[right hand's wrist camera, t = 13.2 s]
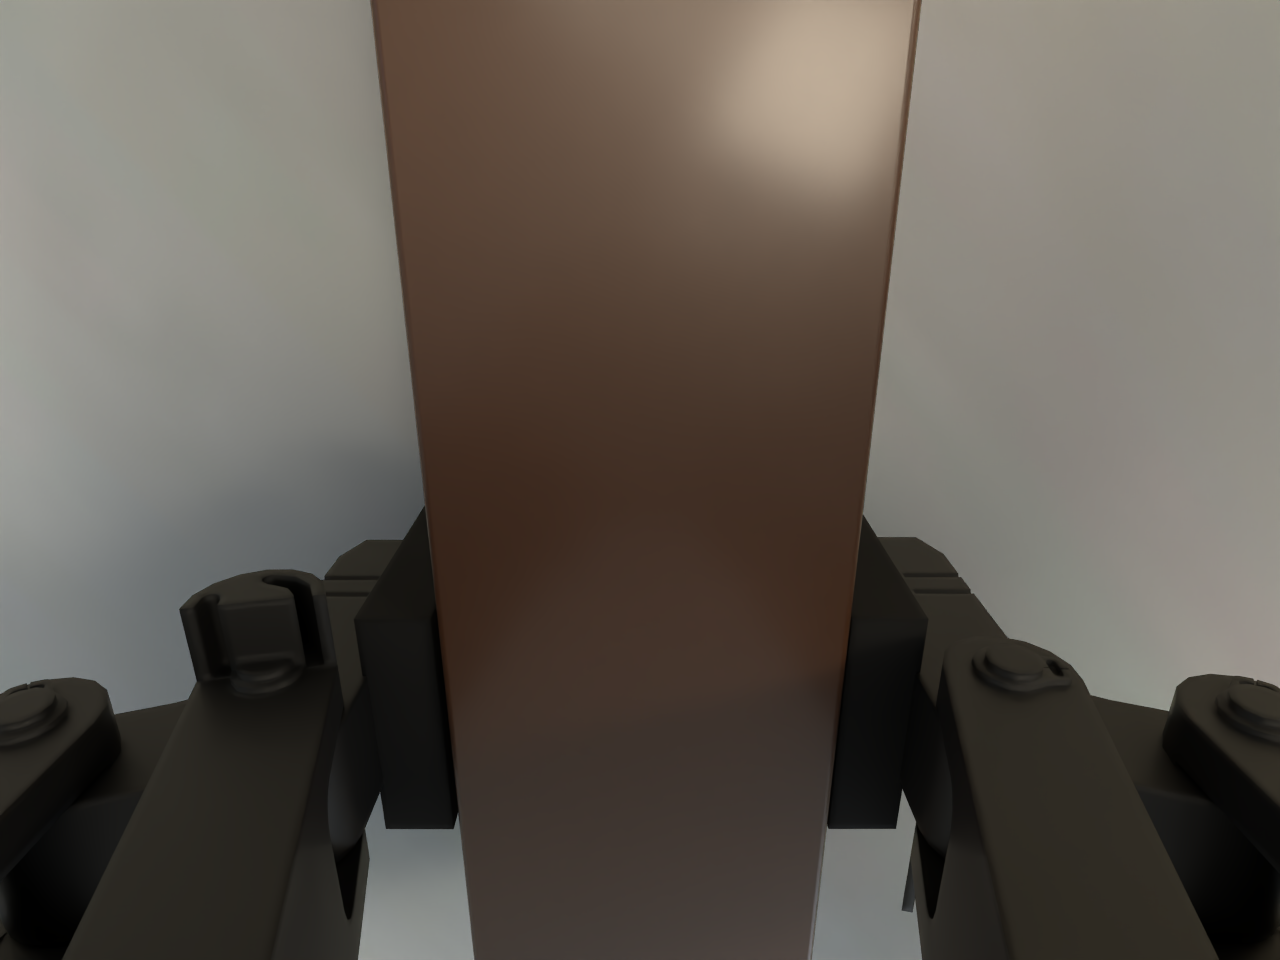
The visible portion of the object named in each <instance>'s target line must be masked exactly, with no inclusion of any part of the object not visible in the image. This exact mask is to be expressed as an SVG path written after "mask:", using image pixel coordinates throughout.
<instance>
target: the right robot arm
mask: <svg viewBox="0 0 1280 960" xmlns="http://www.w3.org/2000/svg"><path fill="white" fill-rule="evenodd" d="M179 610H180V614H181V618H182V623H183V627H184V631H185V635H186V639H187V643H188V647H189V651H190V655H191V659H192V663H193V667H194V671H195V675H196V679H197V682H196V684H195V687H194V689H193V691H192V693H191V695H190V697H189V699H188V700H185V701H181V702H177V703H173V704H167V705H162V706H157V707H152V708H146V709H141V710H136V711H131V712H125V713H120V714H115V715H114V712H113V709H112V705H111V702H110V699H109V695H108V692H107V690H106V689H105V688H104V687H102V686H101V685H100V684H99V683H97V682H96V681H93V680H87V679H81V678H74V677H72V678H61V679H51V680H49V679H46V680H40V681H35V682H31V683H30V684H28V685H27V683H26V684H23V685H19V686H16V687H13V688H10V689H8V690H7V691H5V692H4V693H2V694H0V960H358V954H359V945H360V937H361V928H362V920H363V911H364V903H365V894H366V885H367V877H368V868H369V860H370V858H369V851H368V845H367V839H366V833H365V827H366V824H367V822H368V820H369V817H370V815H371V812H372V810H373V807H374V805H375V803H376V800H377V798H378V795H379V793H381V800H382V806H383V813H384V819H385V826H386V829H454V825H455V822H456V818H457V815H458V804H457V795H456V786H455V776H454V767H453V758H452V749H451V740H450V730H449V721H448V712H447V703H446V693H445V684H444V675H443V666H442V657H441V647H440V638H439V629H438V620H437V611H436V601H435V592H434V583H433V574H432V564H431V555H430V546H429V537H428V528H427V518H426V509H425V506H424V508H423V509H422V511H421V512H420V514H419V516H418V517H417V519H416V520H415V522H414V524H413V525H412V527H411V528H410V530H409V532H408V533H407V535H406V536H405V538H404V540H366V541H364V542H362V543H361V544H359V545H358V546H356V547H354V548H353V549H351V550H349V551H348V552H346V553H345V554H343V555H341V556H340V557H339V558H338V559H337V561H336V562H335V563H334V564H333V566H332V567H331V568H330V570H329V571H328V572H327V574H326V575H325V579H324V580H320V579H318V578H317V577H316V576H314V575H313V574H310V573H306V572H301V571H297V570H263V571H258V572H252V573H246V574H240V575H238V576H235V577H232V578H229V579H226V580H223V581H220V582H217V583H214V584H212V585H210V586H209V587H207V588H205V589H203V590H201V591H200V592H198V593H196V594H194V595H193V596H192V597H191V598H190V599H189V600H188V601H187V602H186V603H185V604H184V605H183V606H182V607H181V608H180V609H179ZM902 789H903V791H904V794H905V796H906V798H907V801H908V803H909V806H910V808H911V810H912V813H913V815H914V818H915V820H916V827H915V833H914V839H913V844H912V850H911V856H910V862H909V868H908V874H907V880H906V886H905V892H904V899H903V905H902V910H903V911H908V912H913V907H914V901H916V909H917V918H918V926H919V935H920V943H921V952H922V960H1280V689H1279V688H1278V687H1277V686H1275V685H1272V684H1269V683H1266V682H1263V681H1259V680H1257V681H1254V680H1253V679H1252V678H1246V677H1241V676H1227V675H1216V674H1207V675H1200V676H1194V677H1188V678H1187V679H1186V680H1185V681H1183V682H1182V683H1181V684H1179V685H1178V686H1177V687H1176V690H1175V694H1174V697H1173V700H1172V704H1171V707H1170V710H1169V711H1165V710H1159V709H1154V708H1149V707H1144V706H1138V705H1133V704H1128V703H1123V702H1117V701H1112V700H1108V699H1104V698H1100V697H1096V696H1092V695H1090V693H1089V691H1088V689H1087V687H1086V685H1085V683H1084V681H1083V680H1082V678H1081V677H1080V676H1079V675H1078V673H1077V672H1076V671H1075V670H1074V669H1073V667H1072V666H1071V665H1070V664H1068V663H1067V662H1065V661H1064V660H1062V659H1061V658H1059V657H1058V656H1056V655H1055V654H1053V653H1052V652H1050V651H1047V650H1045V649H1042V648H1040V647H1037V646H1035V645H1032V644H1030V643H1027V642H1024V641H1019V640H1014V639H1009V638H1007V636H1006V635H1005V634H1004V633H1003V631H1002V630H1001V629H1000V627H999V626H998V625H997V623H996V622H995V621H994V620H993V618H992V617H991V616H990V614H989V613H988V612H987V610H986V609H985V608H984V606H983V605H982V604H981V603H980V601H979V600H978V599H977V597H976V596H975V595H974V594H971V592H970V588H969V587H968V586H967V584H966V583H965V582H964V580H963V579H962V578H961V577H958V573H957V571H956V570H955V569H954V567H953V566H952V565H951V563H950V562H949V561H948V560H947V558H946V557H945V556H944V554H942V553H941V552H939V551H938V550H936V549H934V548H933V547H931V546H929V545H928V544H926V543H924V542H923V541H921V540H920V539H918V538H916V537H877V536H876V534H875V533H874V531H873V530H872V528H871V526H870V525H869V523H868V522H867V520H866V518H865V517H864V515H863V516H862V525H861V533H860V542H859V551H858V560H857V568H856V577H855V586H854V594H853V603H852V612H851V621H850V629H849V638H848V647H847V655H846V664H845V673H844V681H843V690H842V699H841V708H840V716H839V725H838V734H837V742H836V751H835V760H834V769H833V777H832V786H831V795H830V803H829V812H828V821H827V825H828V829H896V825H897V819H898V813H899V806H900V800H901V793H902Z"/></svg>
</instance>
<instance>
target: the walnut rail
mask: <svg viewBox="0 0 1280 960" xmlns="http://www.w3.org/2000/svg"><path fill="white" fill-rule="evenodd" d="M370 2H371V12H372V21H373V30H374V39H375V48H376V58H377V67H378V76H379V85H380V95H381V104H382V113H383V122H384V131H385V141H386V150H387V159H388V168H389V177H390V187H391V196H392V205H393V214H394V224H395V233H396V242H397V251H398V260H399V270H400V279H401V288H402V297H403V306H404V316H405V325H406V334H407V343H408V353H409V362H410V371H411V380H412V389H413V399H414V408H415V417H416V426H417V435H418V445H419V454H420V463H421V472H422V482H423V491H424V500H425V509H426V518H427V528H428V537H429V546H430V555H431V564H432V574H433V583H434V592H435V601H436V611H437V620H438V629H439V638H440V647H441V657H442V666H443V675H444V684H445V693H446V703H447V712H448V721H449V730H450V740H451V749H452V758H453V767H454V776H455V786H456V795H457V804H458V813H459V822H460V832H461V841H462V850H463V859H464V869H465V878H466V887H467V896H468V905H469V915H470V924H471V933H472V942H473V952H474V960H812V951H813V943H814V934H815V925H816V917H817V908H818V899H819V890H820V882H821V873H822V864H823V856H824V847H825V838H826V830H827V821H828V812H829V803H830V795H831V786H832V777H833V769H834V760H835V751H836V742H837V734H838V725H839V716H840V708H841V699H842V690H843V681H844V673H845V664H846V655H847V647H848V638H849V629H850V621H851V612H852V603H853V594H854V586H855V577H856V568H857V560H858V551H859V542H860V533H861V525H862V516H863V507H864V499H865V490H866V481H867V473H868V464H869V455H870V446H871V438H872V429H873V420H874V412H875V403H876V394H877V385H878V377H879V368H880V359H881V351H882V342H883V333H884V324H885V316H886V307H887V298H888V290H889V281H890V272H891V264H892V255H893V246H894V237H895V229H896V220H897V211H898V203H899V194H900V185H901V176H902V168H903V159H904V150H905V142H906V133H907V124H908V116H909V107H910V98H911V89H912V81H913V72H914V63H915V55H916V46H917V37H918V28H919V20H920V11H921V2H922V0H370Z"/></svg>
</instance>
